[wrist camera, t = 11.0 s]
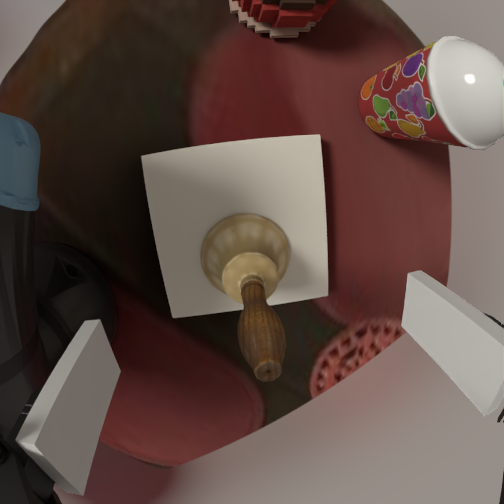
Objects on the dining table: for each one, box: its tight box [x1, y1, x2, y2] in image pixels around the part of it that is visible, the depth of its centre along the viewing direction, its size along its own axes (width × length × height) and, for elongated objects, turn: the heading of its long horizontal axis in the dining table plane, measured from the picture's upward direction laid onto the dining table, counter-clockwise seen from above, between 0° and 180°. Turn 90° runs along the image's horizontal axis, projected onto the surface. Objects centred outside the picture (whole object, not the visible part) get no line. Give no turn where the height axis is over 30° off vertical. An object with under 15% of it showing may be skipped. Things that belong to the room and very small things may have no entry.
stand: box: [141, 135, 328, 318], centre depth 28 cm, size 16×16×2 cm
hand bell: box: [201, 213, 290, 382], centre depth 21 cm, size 8×8×16 cm
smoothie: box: [358, 36, 504, 150], centre depth 17 cm, size 8×8×20 cm
